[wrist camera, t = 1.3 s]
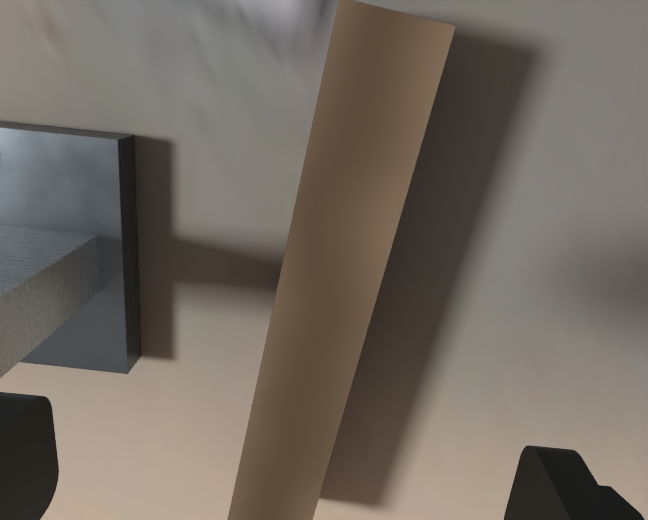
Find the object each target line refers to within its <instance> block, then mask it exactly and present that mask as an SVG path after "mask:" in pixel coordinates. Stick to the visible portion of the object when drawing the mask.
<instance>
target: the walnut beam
mask: <svg viewBox="0 0 648 520" xmlns="http://www.w3.org/2000/svg"><path fill="white" fill-rule="evenodd" d="M455 27H456V26H454V25H450V24H446V23H442V22H438V21H434V20H430V19H426V18H422V17H417V16H413V15H409V14H405V13H401V12H397V11H393V10H389V9H385V8H381V7H377V6H373V5H369V4H365V3H361V2H357V1H353V0H339V2H338V7H337V11H336V16H335V21H334V25H333V30H332V35H331V39H330V44H329V49H328V53H327V58H326V63H325V67H324V72H323V77H322V81H321V86H320V91H319V95H318V100H317V105H316V109H315V114H314V119H313V123H312V128H311V133H310V137H309V142H308V147H307V151H306V156H305V161H304V165H303V170H302V175H301V179H300V184H299V189H298V194H297V198H296V203H295V208H294V212H293V217H292V222H291V226H290V231H289V236H288V240H287V245H286V250H285V254H284V259H283V264H282V268H281V273H280V278H279V282H278V287H277V292H276V296H275V301H274V306H273V310H272V315H271V320H270V324H269V329H268V334H267V338H266V343H265V348H264V352H263V357H262V362H261V366H260V371H259V376H258V380H257V385H256V390H255V394H254V399H253V404H252V408H251V413H250V418H249V422H248V427H247V432H246V436H245V441H244V446H243V450H242V455H241V460H240V464H239V469H238V474H237V478H236V483H235V488H234V492H233V497H232V502H231V506H230V511H229V516H228V520H313V516H314V513H315V509H316V506H317V502H318V499H319V495H320V492H321V489H322V485H323V482H324V478H325V475H326V471H327V468H328V464H329V461H330V458H331V454H332V451H333V447H334V444H335V440H336V437H337V433H338V430H339V427H340V423H341V420H342V416H343V413H344V409H345V406H346V402H347V399H348V396H349V392H350V389H351V385H352V382H353V378H354V375H355V371H356V368H357V365H358V361H359V358H360V354H361V351H362V347H363V344H364V340H365V337H366V334H367V330H368V327H369V323H370V320H371V316H372V313H373V309H374V306H375V303H376V299H377V296H378V292H379V289H380V285H381V282H382V278H383V275H384V272H385V268H386V265H387V261H388V258H389V254H390V251H391V247H392V244H393V241H394V237H395V234H396V230H397V227H398V223H399V220H400V216H401V213H402V210H403V206H404V203H405V199H406V196H407V192H408V189H409V185H410V182H411V179H412V175H413V172H414V168H415V165H416V161H417V158H418V154H419V151H420V148H421V144H422V141H423V137H424V134H425V130H426V127H427V123H428V120H429V117H430V113H431V110H432V106H433V103H434V99H435V96H436V92H437V89H438V86H439V82H440V79H441V75H442V72H443V68H444V65H445V61H446V58H447V55H448V51H449V48H450V44H451V41H452V37H453V34H454V30H455Z"/></svg>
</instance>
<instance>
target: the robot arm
mask: <svg viewBox="0 0 648 520" xmlns="http://www.w3.org/2000/svg"><path fill="white" fill-rule="evenodd" d="M58 473H59V468H58V458H57V449H56V440H55V432H54V423H53V414H52V407H51V403H50V401H49V399H48V398H47V397H44V396H35V395H25V394H15V393H5V392H0V520H40V519H41V517H42V516H43V514H44V513H45V511H46V510H47V508H48V507H49V505H50V503H51V501H52V498H53V496H54V493H55V490H56V486H57V482H58ZM504 520H644V518H643V517H642V515H641V514H640V513H639V512H638V511H637V510H636V509H635V508H634V507H633V506H631V505H630V504H629V503H628V502H627V501H626V500H625V499H624V498H623V497H621V496H620V495H619V494H618V493H617V492H616V491H615V490H614V489H613V488H611V487H610V486H600V485H598V484H597V482H596V480H595V479H594V477H593V475H592V474H591V472H590V471H589V469H588V467H587V466H586V464H585V462H584V461H583V459H582V457H581V456H580V455H579V454H578V453H577V452H576V451H574V450H569V449H559V448H549V447H539V446H526V447H525V448H524V449H523V451H522V453H521V456H520V460H519V463H518V467H517V471H516V475H515V478H514V482H513V486H512V489H511V493H510V497H509V500H508V504H507V508H506V512H505V516H504Z"/></svg>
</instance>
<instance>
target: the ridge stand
mask: <svg viewBox="0 0 648 520" xmlns="http://www.w3.org/2000/svg"><path fill="white" fill-rule="evenodd" d="M140 357H141V343H140V312H139V281H138V250H137V219H136V188H135V158H134V135H129V134H119V133H109V132H100V131H90V130H80V129H70V128H61V127H51V126H41V125H32V124H22V123H12V122H3V121H0V378H1V377H2V376H3V375H5V374H6V373H7V372H8V371H9V370H10V369H11V368H13V367H14V366H15V365H16V364H17V363H18V362H25V363H34V364H43V365H52V366H61V367H70V368H79V369H88V370H97V371H106V372H115V373H124V374H128V373H129V371H130V370H131V369H132V367H133V366H134V365H135V363H136V362H137V361H138V359H139V358H140Z"/></svg>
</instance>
